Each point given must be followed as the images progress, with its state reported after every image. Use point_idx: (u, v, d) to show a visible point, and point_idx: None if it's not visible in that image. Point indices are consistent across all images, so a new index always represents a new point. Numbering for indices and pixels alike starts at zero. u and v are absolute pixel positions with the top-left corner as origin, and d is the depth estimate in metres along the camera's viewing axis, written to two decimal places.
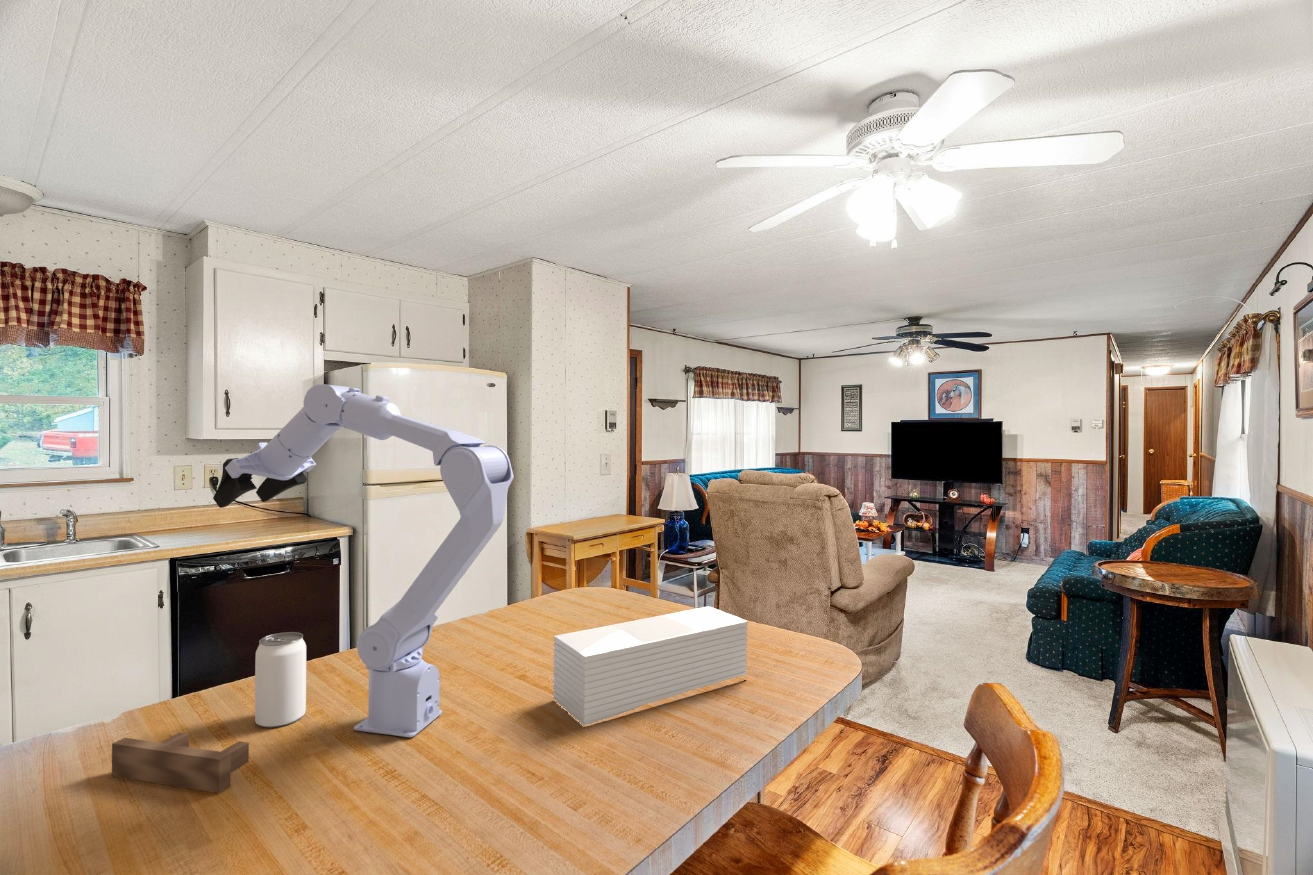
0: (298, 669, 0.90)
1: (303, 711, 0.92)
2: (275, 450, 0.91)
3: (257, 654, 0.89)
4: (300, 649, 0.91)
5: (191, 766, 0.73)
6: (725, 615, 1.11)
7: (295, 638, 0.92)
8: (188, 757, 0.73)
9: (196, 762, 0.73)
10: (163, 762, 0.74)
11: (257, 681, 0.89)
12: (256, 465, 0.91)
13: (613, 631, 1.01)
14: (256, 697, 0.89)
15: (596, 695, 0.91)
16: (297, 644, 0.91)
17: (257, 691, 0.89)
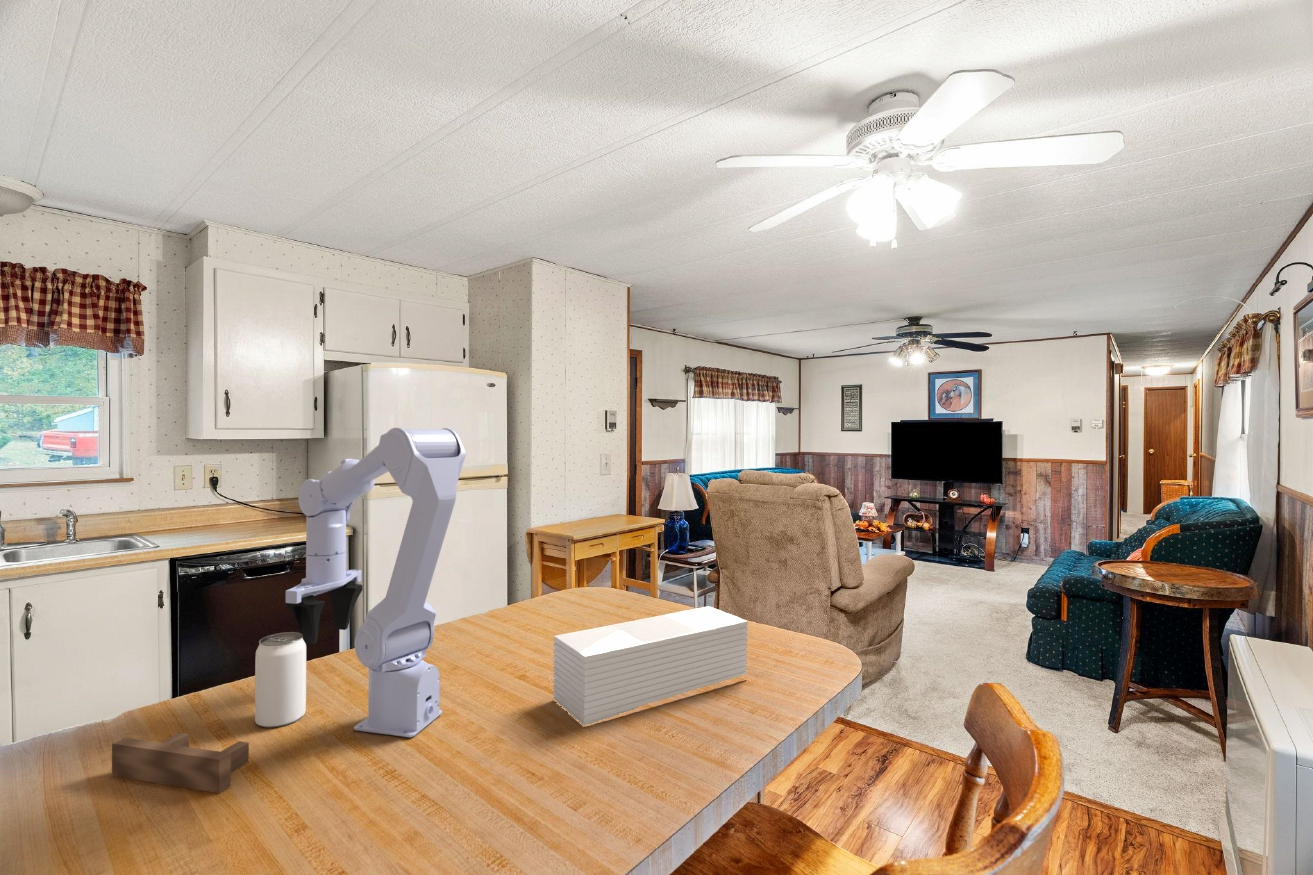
0: (298, 669, 0.90)
1: (303, 711, 0.92)
2: (313, 564, 0.97)
3: (257, 654, 0.89)
4: (300, 649, 0.91)
5: (191, 766, 0.73)
6: (725, 615, 1.11)
7: (295, 638, 0.92)
8: (188, 757, 0.73)
9: (196, 762, 0.73)
10: (163, 762, 0.74)
11: (257, 681, 0.89)
12: (309, 586, 0.96)
13: (613, 631, 1.01)
14: (256, 697, 0.89)
15: (596, 695, 0.91)
16: (297, 644, 0.91)
17: (257, 691, 0.89)
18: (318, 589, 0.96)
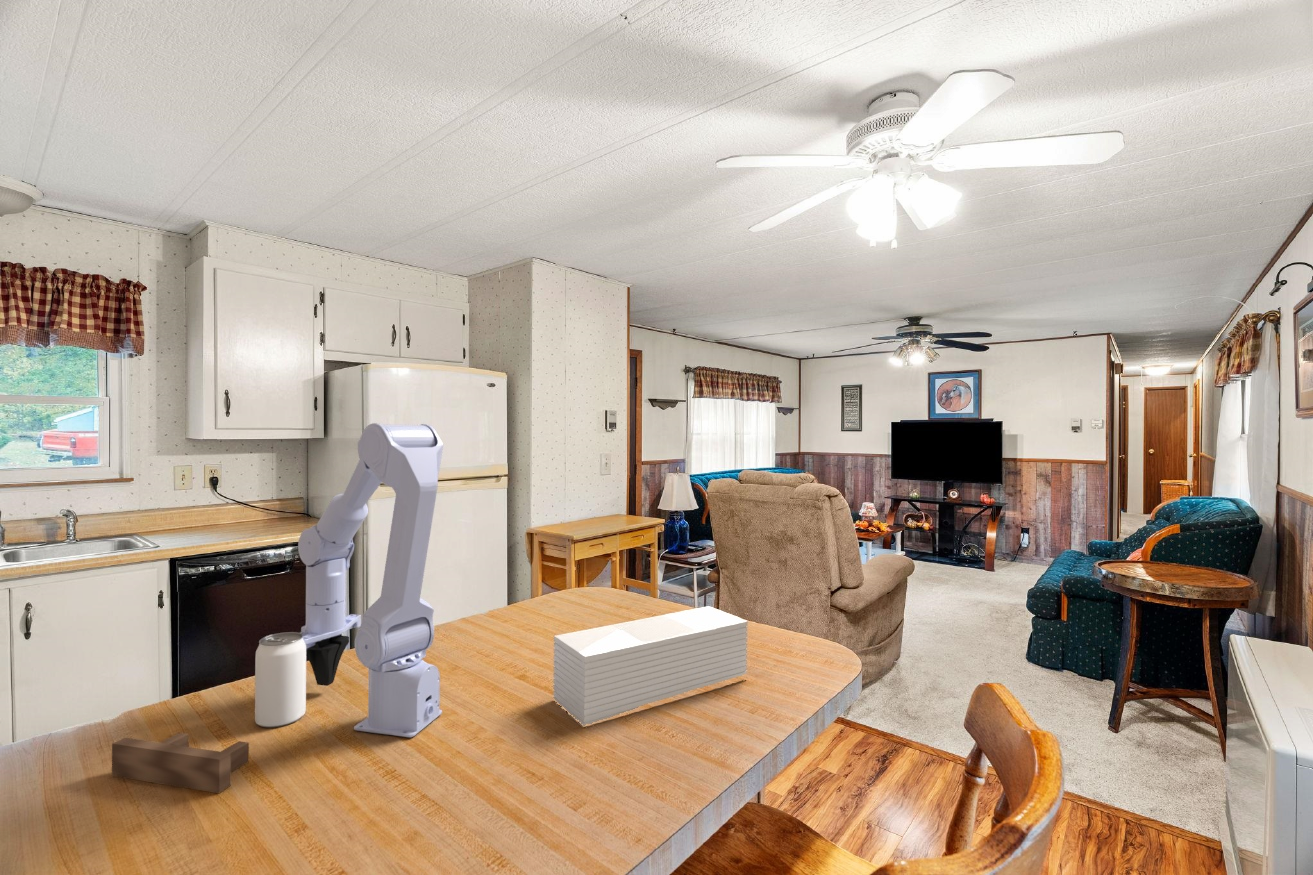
0: (298, 669, 0.90)
1: (303, 711, 0.92)
2: (313, 614, 0.97)
3: (257, 654, 0.89)
4: (300, 649, 0.91)
5: (191, 766, 0.73)
6: (725, 615, 1.11)
7: (295, 638, 0.92)
8: (188, 757, 0.73)
9: (196, 762, 0.73)
10: (163, 762, 0.74)
11: (257, 681, 0.89)
12: (308, 636, 0.96)
13: (613, 631, 1.01)
14: (256, 697, 0.89)
15: (596, 695, 0.91)
16: (297, 644, 0.91)
17: (257, 691, 0.89)
18: (318, 639, 0.96)
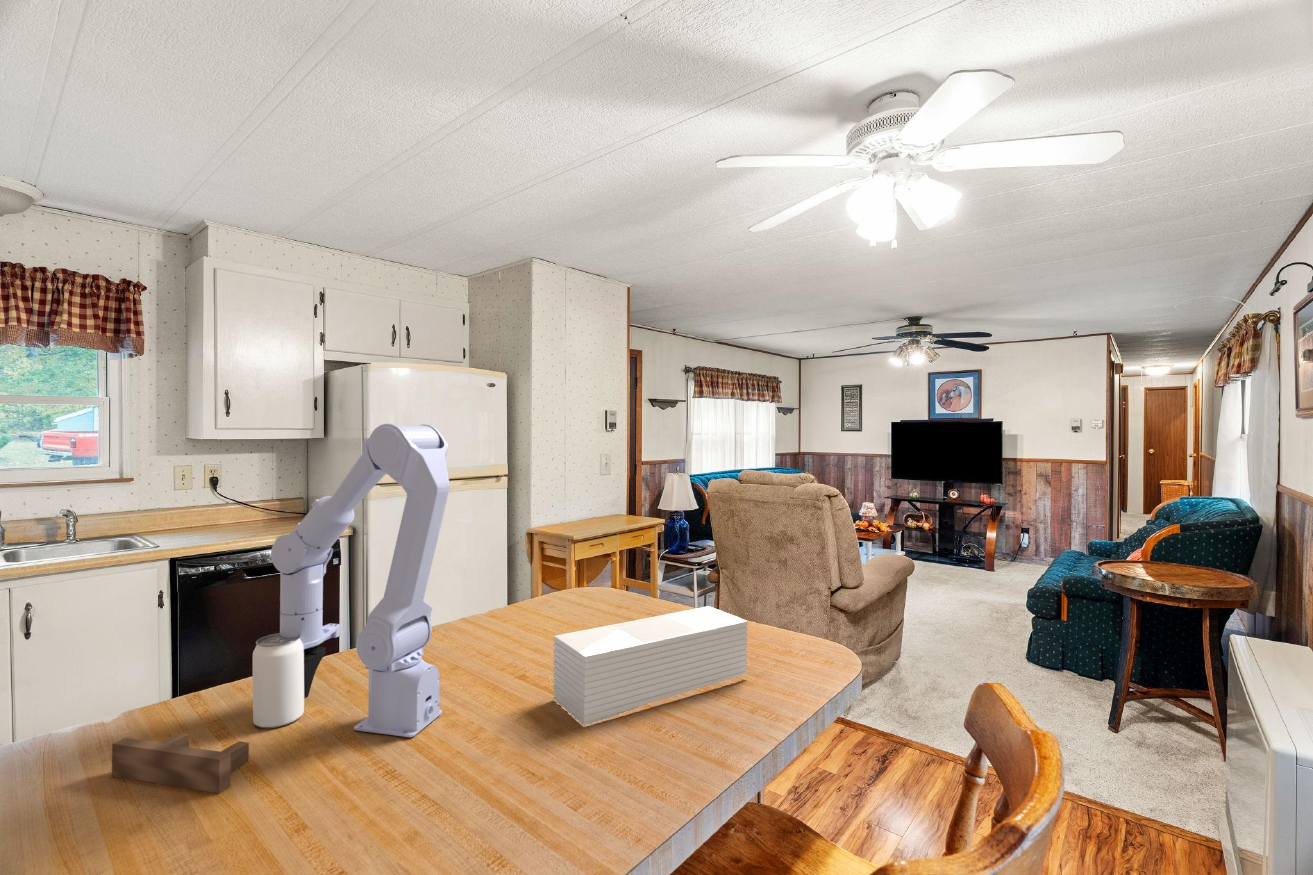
0: (296, 669, 0.90)
1: (302, 711, 0.91)
2: (287, 624, 0.92)
3: (254, 655, 0.88)
4: (298, 649, 0.90)
5: (191, 766, 0.73)
6: (725, 615, 1.11)
7: (293, 638, 0.92)
8: (188, 757, 0.73)
9: (196, 762, 0.73)
10: (163, 762, 0.74)
11: (255, 682, 0.88)
12: None
13: (613, 631, 1.01)
14: (254, 698, 0.88)
15: (596, 695, 0.91)
16: (294, 644, 0.90)
17: (255, 692, 0.88)
18: None
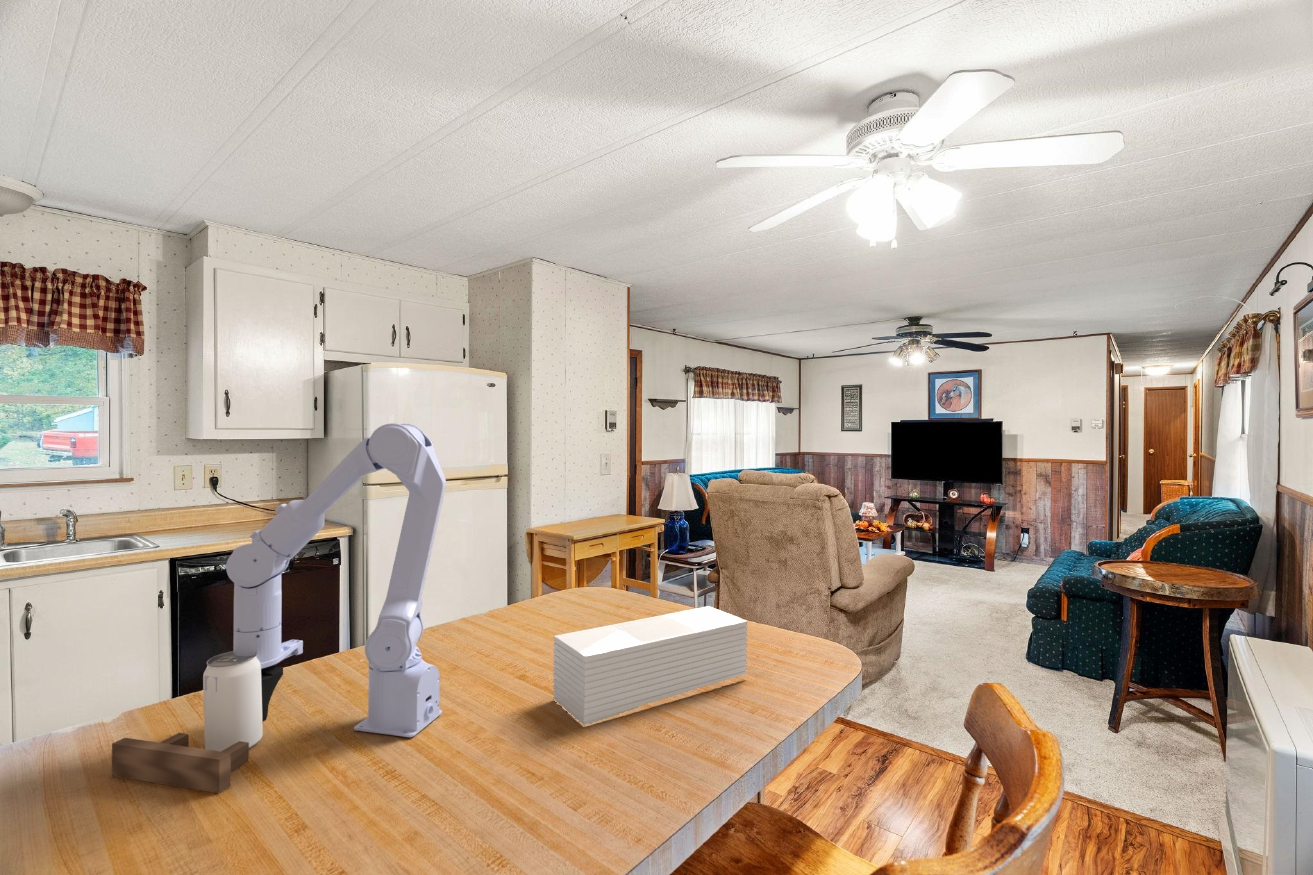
0: (253, 690, 0.83)
1: (260, 735, 0.84)
2: (241, 642, 0.84)
3: None
4: (254, 669, 0.83)
5: (191, 766, 0.73)
6: (725, 615, 1.11)
7: (248, 656, 0.84)
8: (188, 757, 0.73)
9: (196, 762, 0.73)
10: (163, 762, 0.74)
11: (206, 706, 0.80)
12: None
13: (613, 631, 1.01)
14: (205, 723, 0.81)
15: (596, 695, 0.91)
16: (250, 663, 0.83)
17: (206, 717, 0.81)
18: None
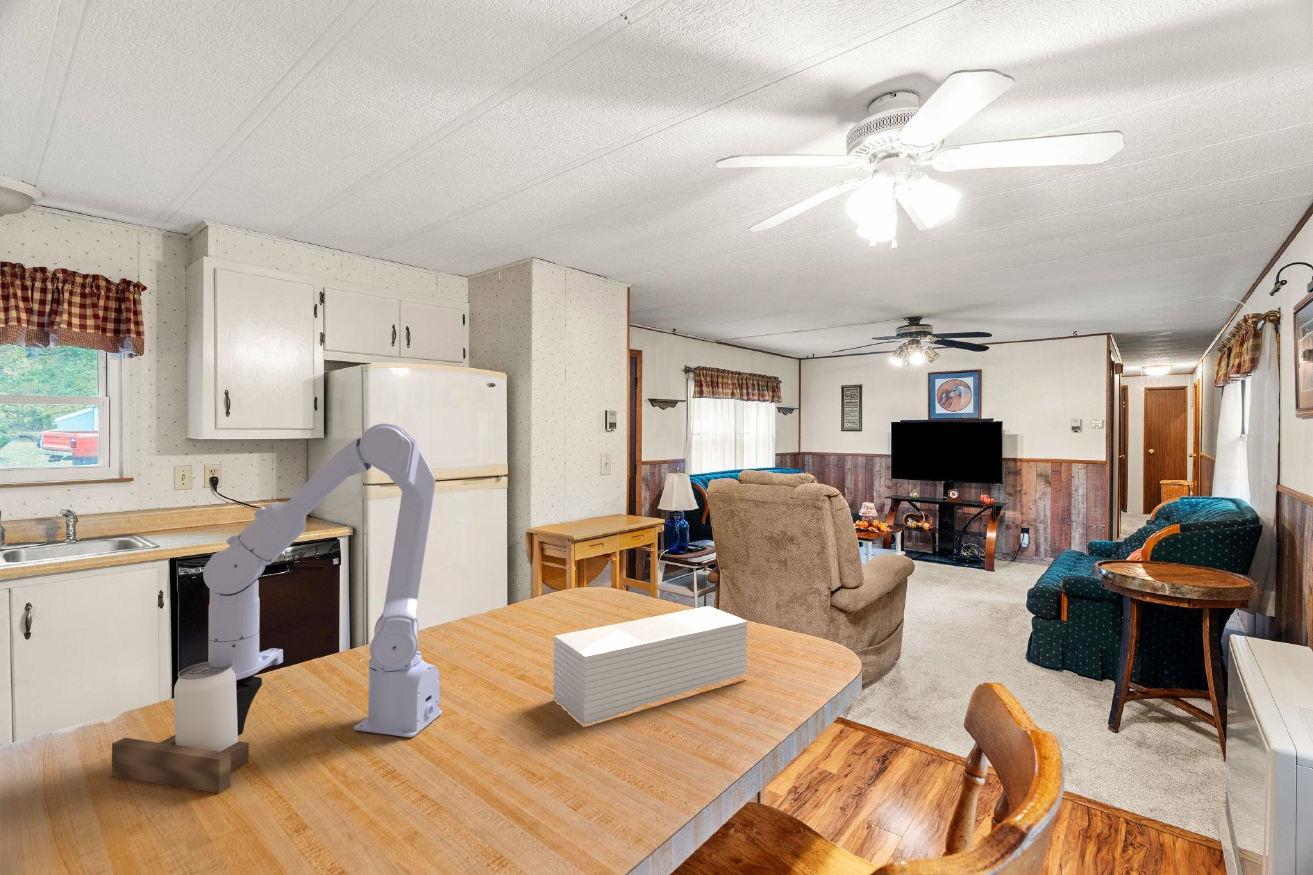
0: (226, 704, 0.79)
1: None
2: (216, 652, 0.81)
3: (175, 690, 0.77)
4: (228, 681, 0.79)
5: (191, 766, 0.73)
6: (725, 615, 1.11)
7: (223, 667, 0.80)
8: (188, 757, 0.73)
9: (196, 762, 0.73)
10: (163, 762, 0.74)
11: (177, 720, 0.77)
12: None
13: (613, 631, 1.01)
14: (176, 739, 0.77)
15: (596, 695, 0.91)
16: (224, 675, 0.79)
17: (177, 732, 0.77)
18: None
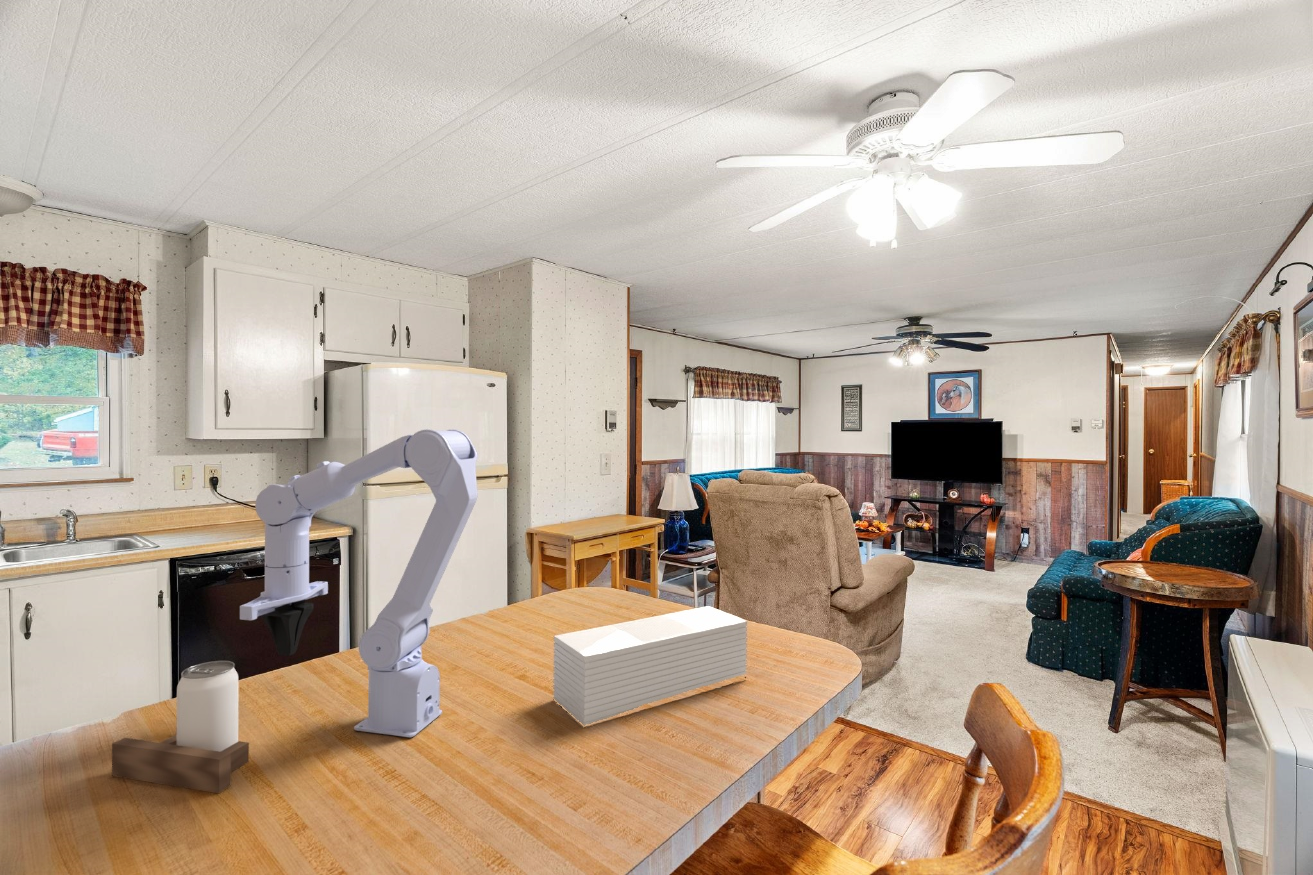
0: (228, 704, 0.79)
1: None
2: (272, 577, 0.89)
3: (178, 689, 0.77)
4: (231, 681, 0.79)
5: (191, 766, 0.73)
6: (725, 614, 1.11)
7: (226, 667, 0.81)
8: (188, 757, 0.73)
9: (196, 762, 0.73)
10: (163, 762, 0.74)
11: (179, 720, 0.77)
12: (267, 601, 0.88)
13: (613, 631, 1.01)
14: (178, 738, 0.77)
15: (596, 695, 0.91)
16: (227, 675, 0.79)
17: (179, 731, 0.77)
18: (277, 604, 0.88)
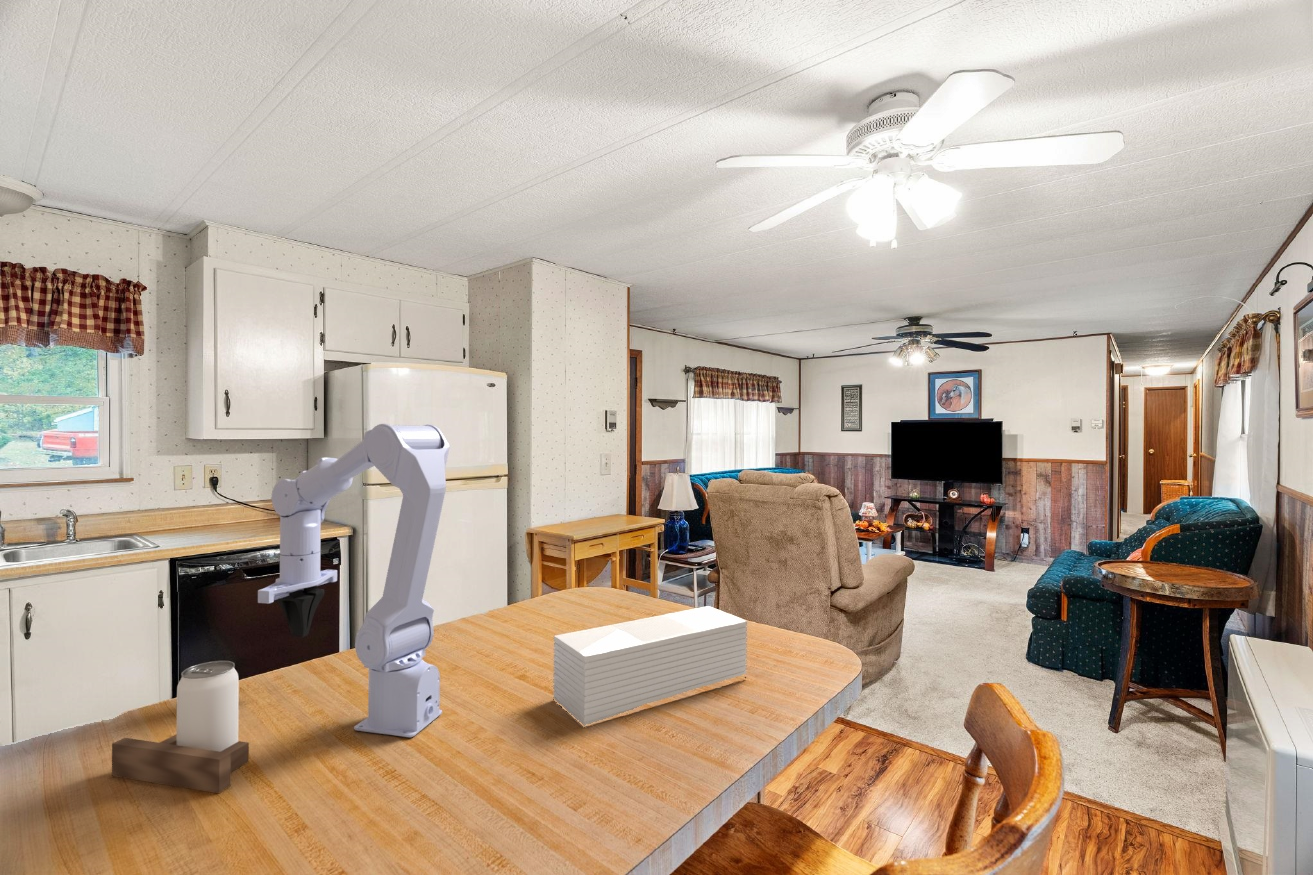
0: (228, 704, 0.79)
1: None
2: (287, 564, 0.97)
3: (178, 689, 0.77)
4: (231, 681, 0.79)
5: (191, 766, 0.73)
6: (725, 614, 1.11)
7: (226, 667, 0.81)
8: (188, 757, 0.73)
9: (196, 762, 0.73)
10: (163, 762, 0.74)
11: (179, 720, 0.77)
12: (282, 586, 0.96)
13: (613, 631, 1.01)
14: (178, 738, 0.77)
15: (596, 695, 0.91)
16: (227, 675, 0.79)
17: (179, 731, 0.77)
18: (291, 589, 0.96)
